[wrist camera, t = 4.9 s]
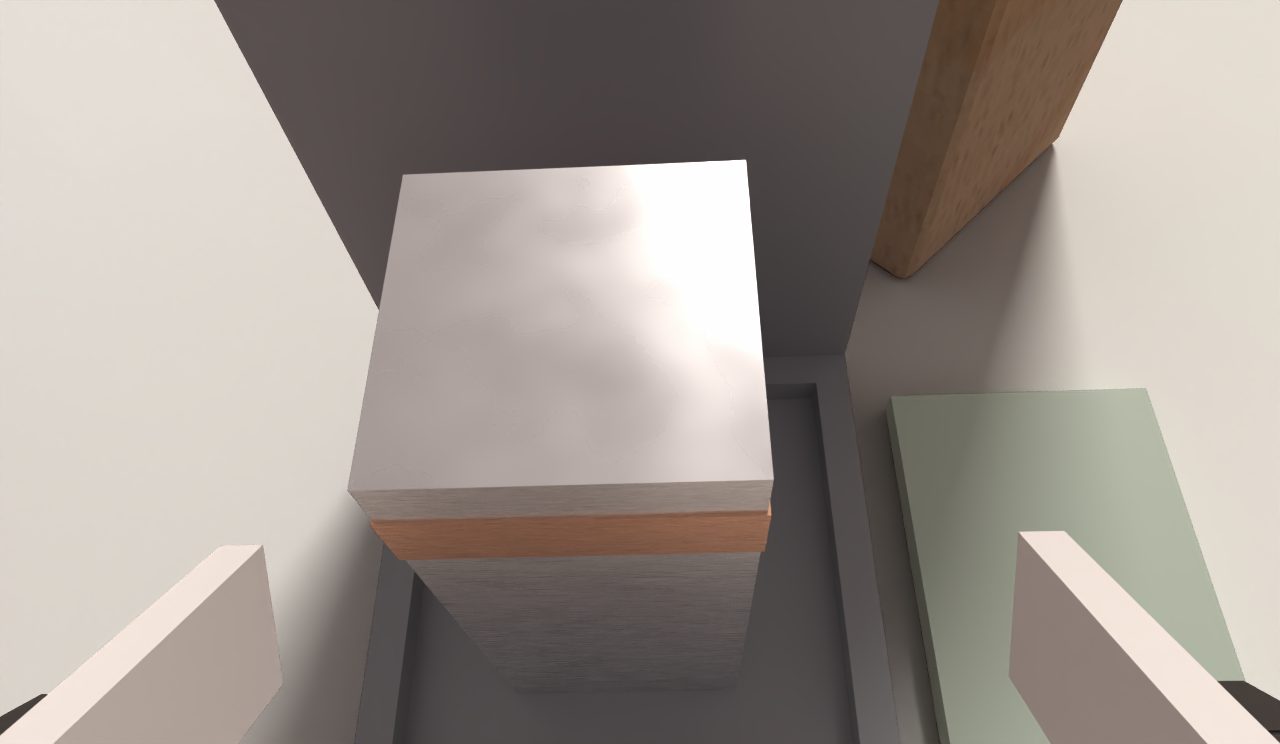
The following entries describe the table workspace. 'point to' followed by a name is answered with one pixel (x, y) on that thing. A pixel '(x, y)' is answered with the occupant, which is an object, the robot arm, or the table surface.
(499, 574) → the block
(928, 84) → the wooden block
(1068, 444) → the sage board
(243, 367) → the table surface
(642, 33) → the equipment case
